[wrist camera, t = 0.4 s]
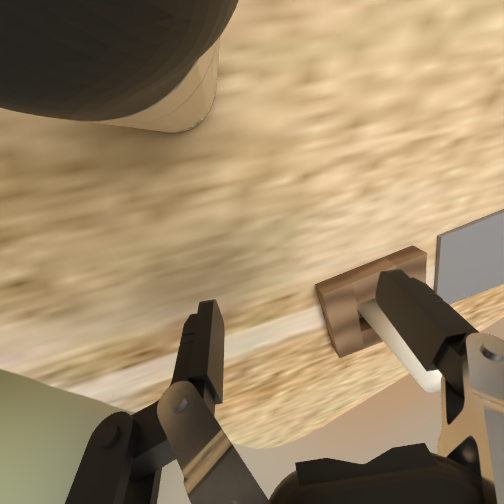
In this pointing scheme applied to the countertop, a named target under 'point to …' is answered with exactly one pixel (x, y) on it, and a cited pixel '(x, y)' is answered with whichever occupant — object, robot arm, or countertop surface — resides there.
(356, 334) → the walnut holder
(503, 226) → the grey mat
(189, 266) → the countertop surface
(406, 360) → the cream cylinder
